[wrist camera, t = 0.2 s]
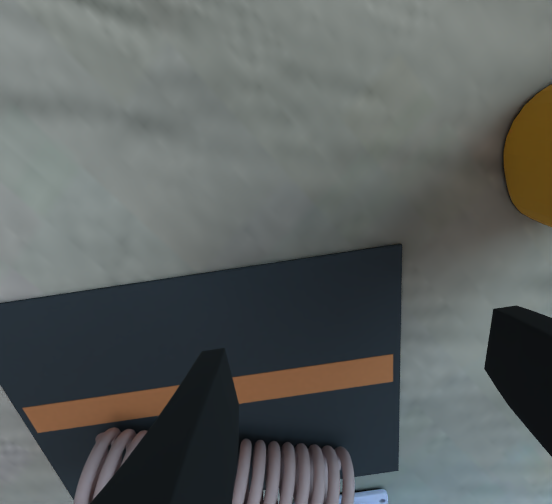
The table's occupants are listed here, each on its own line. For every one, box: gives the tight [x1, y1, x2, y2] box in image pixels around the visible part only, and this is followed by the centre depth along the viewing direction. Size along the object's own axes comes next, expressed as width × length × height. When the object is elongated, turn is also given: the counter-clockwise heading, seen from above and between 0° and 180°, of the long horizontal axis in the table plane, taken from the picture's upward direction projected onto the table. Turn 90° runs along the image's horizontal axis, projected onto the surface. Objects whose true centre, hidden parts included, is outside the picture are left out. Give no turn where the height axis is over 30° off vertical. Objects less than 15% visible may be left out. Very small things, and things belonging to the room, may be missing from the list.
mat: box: [0, 244, 402, 499], centre depth 22 cm, size 20×26×1 cm
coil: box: [74, 428, 355, 504], centre depth 22 cm, size 5×5×18 cm
